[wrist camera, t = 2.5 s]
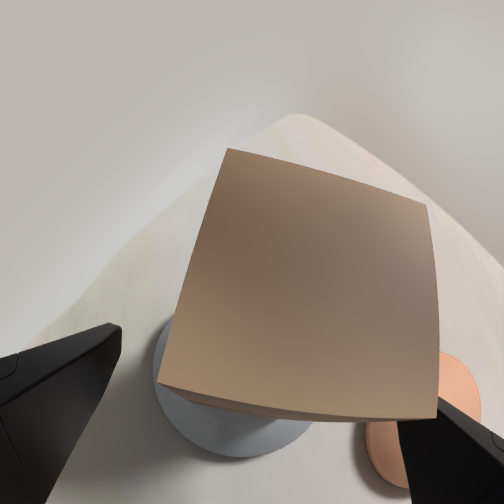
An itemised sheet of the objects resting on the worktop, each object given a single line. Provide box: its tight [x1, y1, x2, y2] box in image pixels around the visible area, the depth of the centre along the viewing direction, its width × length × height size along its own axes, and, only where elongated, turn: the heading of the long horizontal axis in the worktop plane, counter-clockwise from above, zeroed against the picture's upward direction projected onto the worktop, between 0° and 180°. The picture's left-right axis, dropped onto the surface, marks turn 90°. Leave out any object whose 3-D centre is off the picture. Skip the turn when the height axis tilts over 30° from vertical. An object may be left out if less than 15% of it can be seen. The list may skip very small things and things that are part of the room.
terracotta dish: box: [365, 352, 481, 489], centre depth 17 cm, size 10×10×1 cm
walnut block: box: [157, 148, 439, 422], centre depth 11 cm, size 5×5×13 cm
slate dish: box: [152, 316, 313, 457], centre depth 17 cm, size 10×10×1 cm
